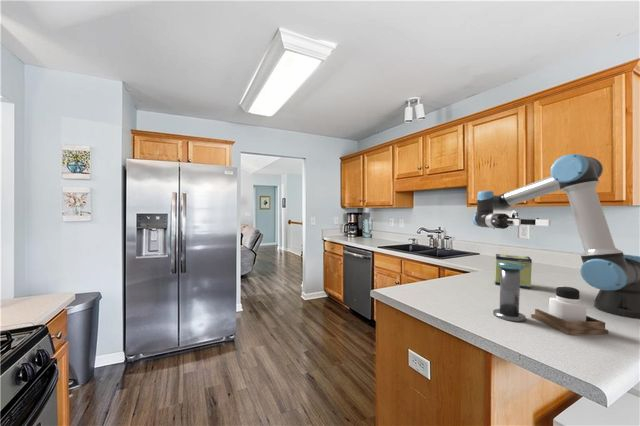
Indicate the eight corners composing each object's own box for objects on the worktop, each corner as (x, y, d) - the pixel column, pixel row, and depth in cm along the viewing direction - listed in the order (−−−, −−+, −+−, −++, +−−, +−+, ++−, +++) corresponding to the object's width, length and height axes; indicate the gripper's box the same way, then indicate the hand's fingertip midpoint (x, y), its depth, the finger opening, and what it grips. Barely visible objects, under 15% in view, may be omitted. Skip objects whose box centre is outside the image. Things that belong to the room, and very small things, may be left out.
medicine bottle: (586, 326, 91) (587, 291, 91) (562, 324, 92) (563, 289, 92) (570, 318, 98) (571, 285, 98) (548, 316, 99) (549, 284, 99)
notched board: (566, 316, 102) (566, 307, 102) (608, 334, 88) (608, 323, 88) (531, 317, 101) (531, 307, 101) (568, 334, 87) (568, 323, 87)
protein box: (531, 289, 138) (532, 259, 137) (494, 284, 146) (495, 256, 146) (528, 285, 147) (529, 256, 146) (494, 280, 155) (495, 253, 155)
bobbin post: (511, 311, 107) (512, 260, 107) (532, 321, 97) (534, 266, 97) (487, 311, 106) (488, 260, 106) (506, 322, 96) (508, 266, 96)
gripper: (521, 228, 138) (561, 231, 116) (474, 228, 136) (507, 231, 114) (521, 213, 137) (562, 214, 116) (474, 213, 135) (507, 213, 114)
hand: (534, 222), depth 115 cm, fingers open, 13 cm apart
